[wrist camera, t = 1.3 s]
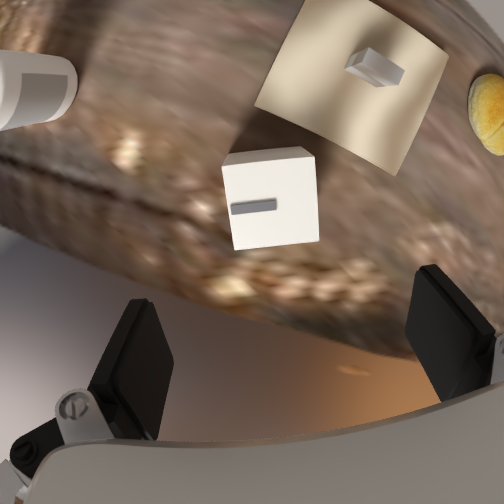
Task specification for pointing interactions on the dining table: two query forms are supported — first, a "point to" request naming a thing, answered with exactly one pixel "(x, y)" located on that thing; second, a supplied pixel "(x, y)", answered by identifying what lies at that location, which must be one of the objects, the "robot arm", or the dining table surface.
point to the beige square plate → (355, 78)
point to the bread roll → (488, 111)
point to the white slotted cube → (271, 197)
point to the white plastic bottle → (34, 88)
